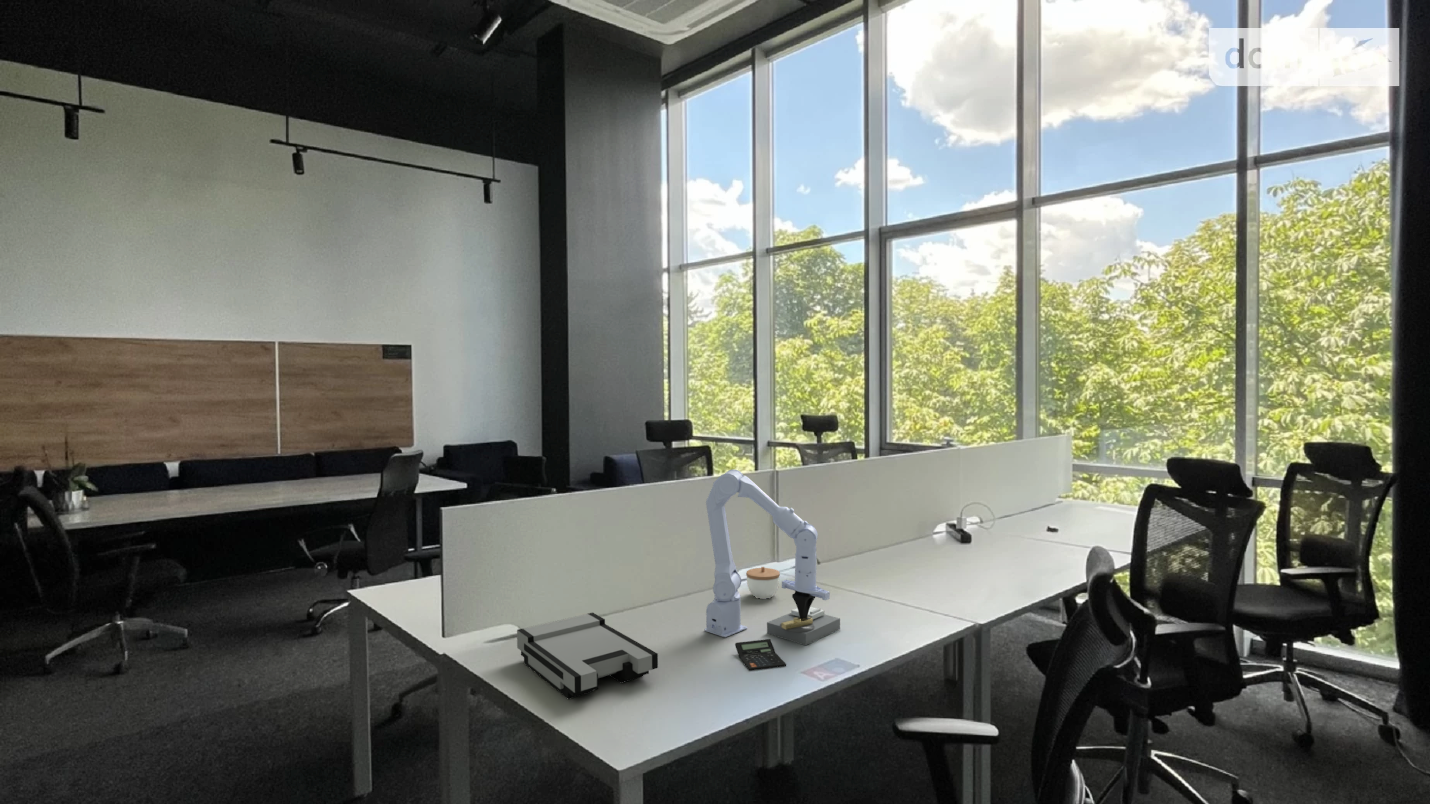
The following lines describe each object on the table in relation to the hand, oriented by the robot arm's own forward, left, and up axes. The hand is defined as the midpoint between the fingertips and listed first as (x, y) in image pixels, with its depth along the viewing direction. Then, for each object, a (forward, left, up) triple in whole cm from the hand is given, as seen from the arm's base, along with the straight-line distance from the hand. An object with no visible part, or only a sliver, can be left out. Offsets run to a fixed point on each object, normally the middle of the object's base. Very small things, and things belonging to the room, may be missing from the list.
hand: (804, 619), depth 189 cm
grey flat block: (+2, +1, -4) cm, 5 cm away
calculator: (-21, -2, -5) cm, 22 cm away
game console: (-55, +24, -5) cm, 60 cm away
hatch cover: (+6, +3, -1) cm, 6 cm away
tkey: (-3, 0, -1) cm, 3 cm away
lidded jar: (+19, +30, -4) cm, 36 cm away
